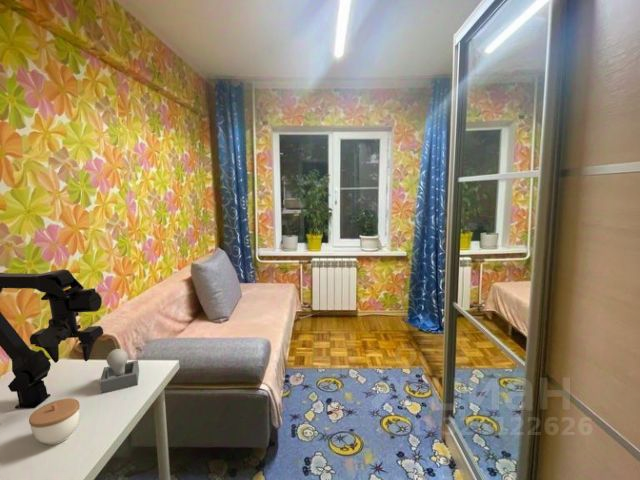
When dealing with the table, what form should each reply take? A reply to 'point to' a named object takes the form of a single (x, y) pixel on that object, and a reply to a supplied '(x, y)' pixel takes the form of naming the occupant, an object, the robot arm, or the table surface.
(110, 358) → the lightbulb
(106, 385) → the socket
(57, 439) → the lidded jar
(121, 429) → the table surface
